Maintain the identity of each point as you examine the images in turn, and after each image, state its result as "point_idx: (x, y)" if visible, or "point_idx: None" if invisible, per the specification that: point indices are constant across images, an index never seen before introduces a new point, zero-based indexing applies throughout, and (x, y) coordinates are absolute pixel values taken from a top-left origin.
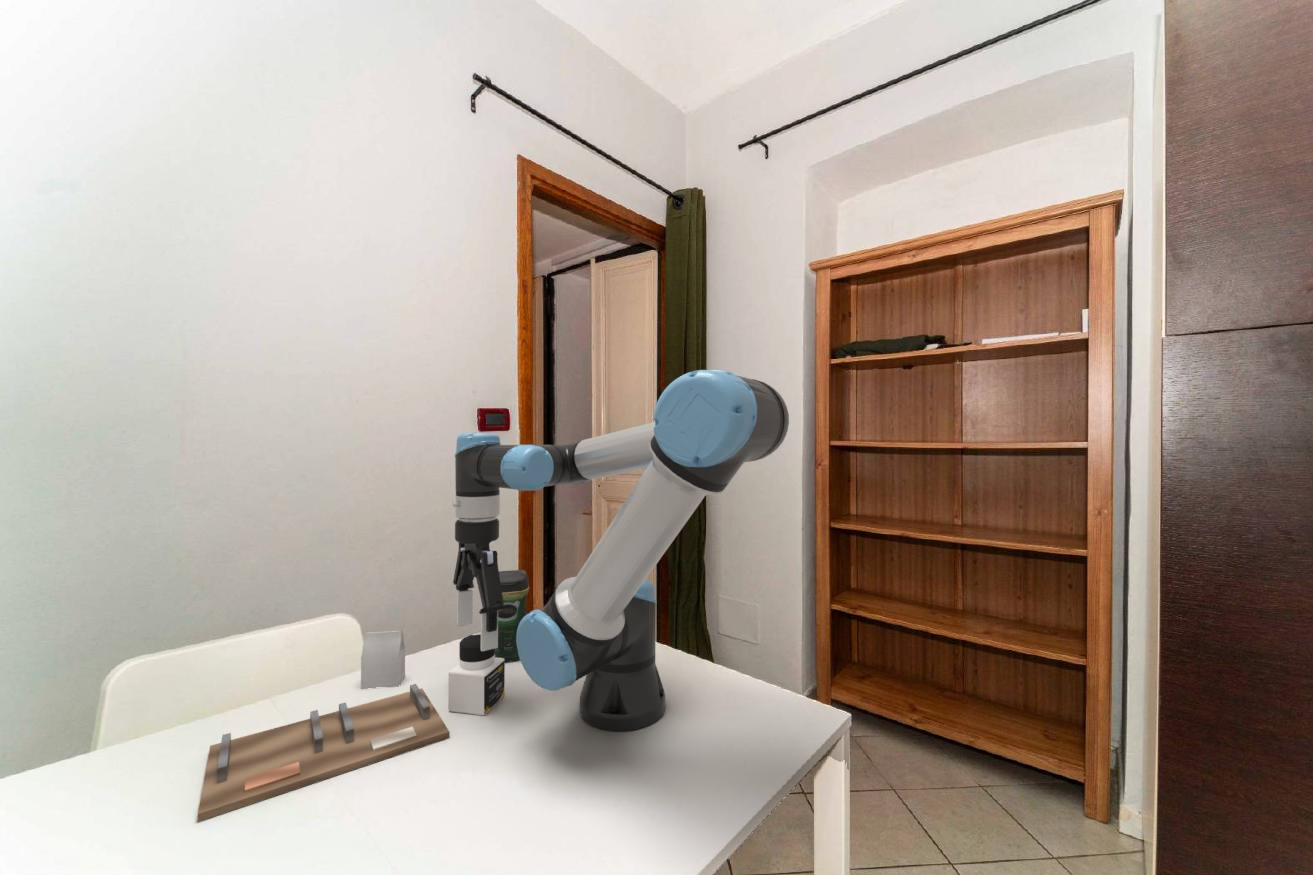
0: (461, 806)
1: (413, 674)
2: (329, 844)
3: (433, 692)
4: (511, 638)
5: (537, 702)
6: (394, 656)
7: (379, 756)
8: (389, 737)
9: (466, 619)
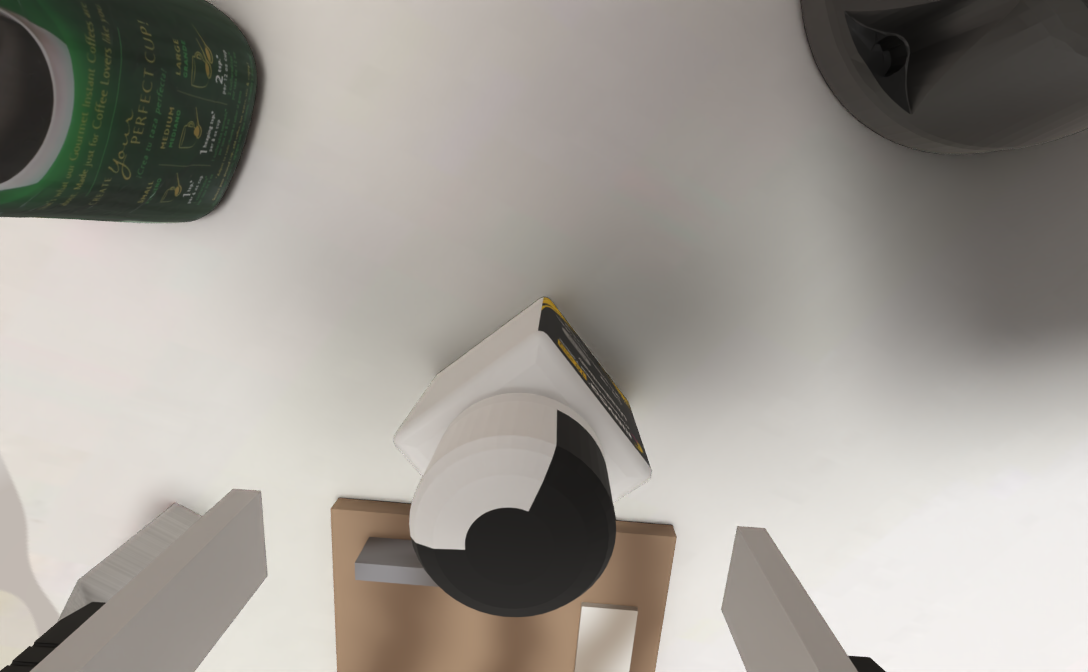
0: (972, 599)
1: (162, 474)
2: None
3: (352, 468)
4: (177, 108)
5: (677, 220)
6: None
7: None
8: (597, 660)
9: (240, 554)
